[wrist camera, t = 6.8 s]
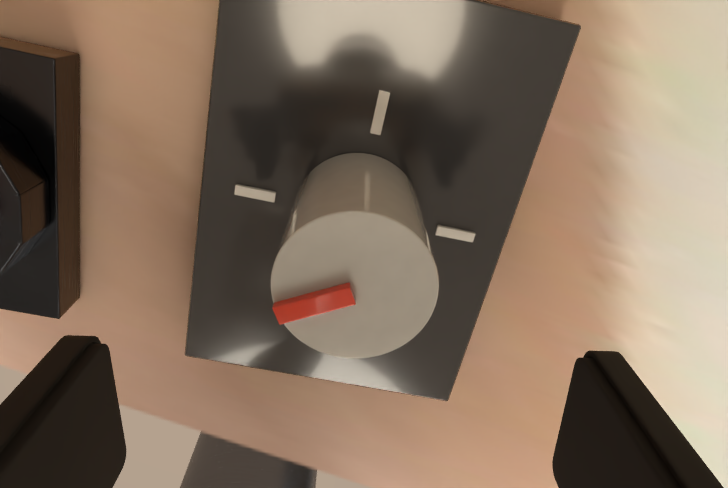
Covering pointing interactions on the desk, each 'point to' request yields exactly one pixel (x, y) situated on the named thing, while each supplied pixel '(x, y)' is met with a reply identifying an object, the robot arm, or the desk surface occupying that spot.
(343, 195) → the hob knob
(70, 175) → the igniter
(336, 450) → the desk surface
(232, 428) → the desk surface
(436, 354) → the hob console
